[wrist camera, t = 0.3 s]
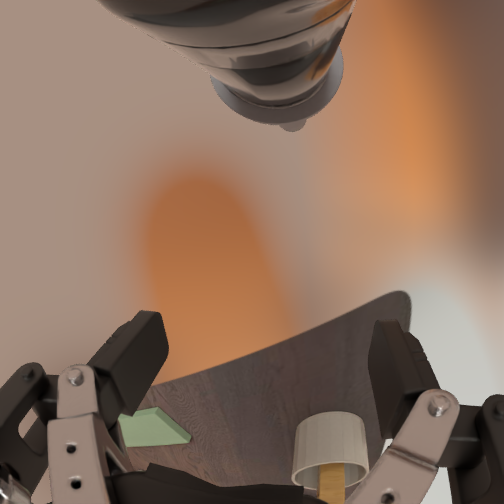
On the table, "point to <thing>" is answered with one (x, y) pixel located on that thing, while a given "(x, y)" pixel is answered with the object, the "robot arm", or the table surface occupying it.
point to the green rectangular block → (151, 429)
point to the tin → (330, 447)
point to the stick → (331, 483)
